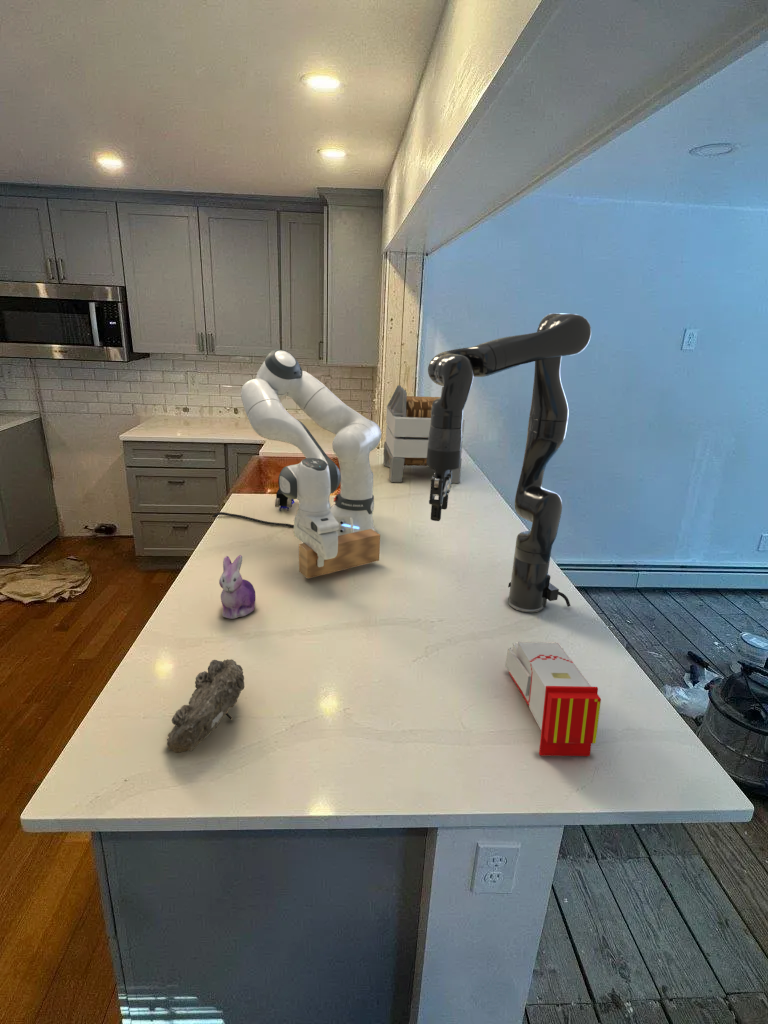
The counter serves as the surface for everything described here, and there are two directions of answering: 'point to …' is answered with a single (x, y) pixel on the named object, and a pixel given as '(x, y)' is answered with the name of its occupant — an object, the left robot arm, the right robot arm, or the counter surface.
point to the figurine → (235, 590)
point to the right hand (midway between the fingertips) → (439, 514)
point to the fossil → (206, 705)
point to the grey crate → (409, 433)
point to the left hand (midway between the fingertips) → (314, 561)
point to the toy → (556, 697)
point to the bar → (342, 554)
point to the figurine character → (283, 501)
